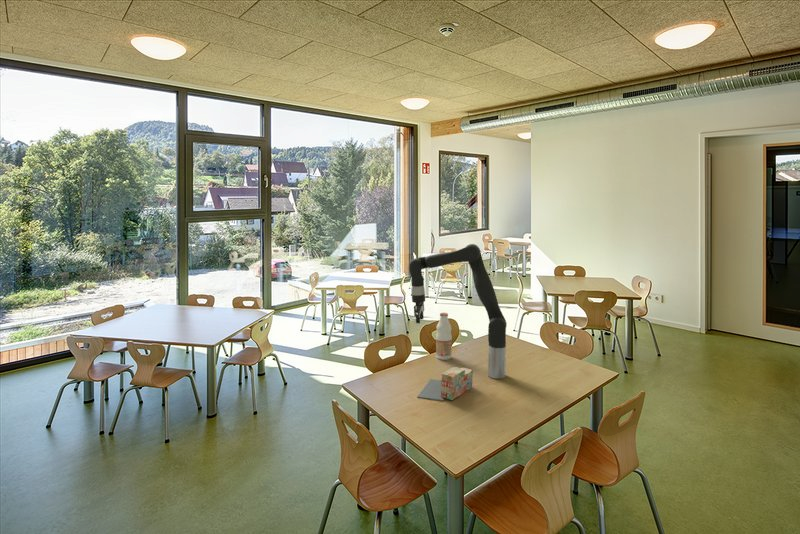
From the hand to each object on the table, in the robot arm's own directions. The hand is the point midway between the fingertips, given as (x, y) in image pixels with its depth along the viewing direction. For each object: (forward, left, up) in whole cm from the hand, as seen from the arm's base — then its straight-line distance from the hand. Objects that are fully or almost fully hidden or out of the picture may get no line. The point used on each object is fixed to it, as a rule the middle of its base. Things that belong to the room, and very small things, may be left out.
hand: (419, 321), depth 263 cm
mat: (-17, +27, -28) cm, 43 cm away
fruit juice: (-9, -22, -28) cm, 37 cm away
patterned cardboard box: (-28, +27, -28) cm, 48 cm away
